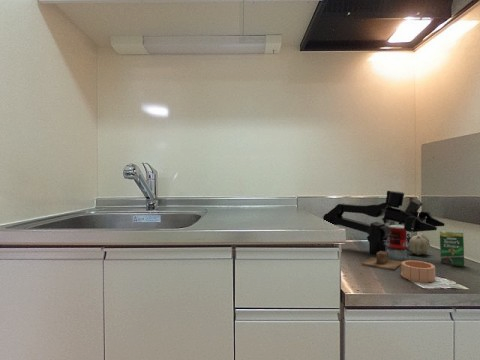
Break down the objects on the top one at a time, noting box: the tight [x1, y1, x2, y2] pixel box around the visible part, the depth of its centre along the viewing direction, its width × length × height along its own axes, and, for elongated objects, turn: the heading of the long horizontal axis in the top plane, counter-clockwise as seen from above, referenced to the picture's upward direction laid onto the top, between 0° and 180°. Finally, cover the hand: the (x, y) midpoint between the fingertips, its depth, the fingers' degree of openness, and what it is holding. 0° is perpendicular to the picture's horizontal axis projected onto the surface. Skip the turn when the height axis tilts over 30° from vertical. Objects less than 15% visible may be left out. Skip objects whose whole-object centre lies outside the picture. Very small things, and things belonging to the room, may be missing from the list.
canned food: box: [388, 224, 407, 251], centre depth 149 cm, size 8×8×11 cm
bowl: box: [400, 259, 436, 283], centre depth 105 cm, size 10×10×5 cm
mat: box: [359, 260, 401, 273], centre depth 120 cm, size 14×14×1 cm
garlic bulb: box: [408, 233, 431, 256], centre depth 136 cm, size 9×8×10 cm
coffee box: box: [439, 231, 465, 268], centre depth 121 cm, size 8×3×13 cm, turn 51°
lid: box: [361, 251, 402, 272], centre depth 120 cm, size 12×12×5 cm
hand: (440, 226), depth 118 cm, fingers open, 9 cm apart
